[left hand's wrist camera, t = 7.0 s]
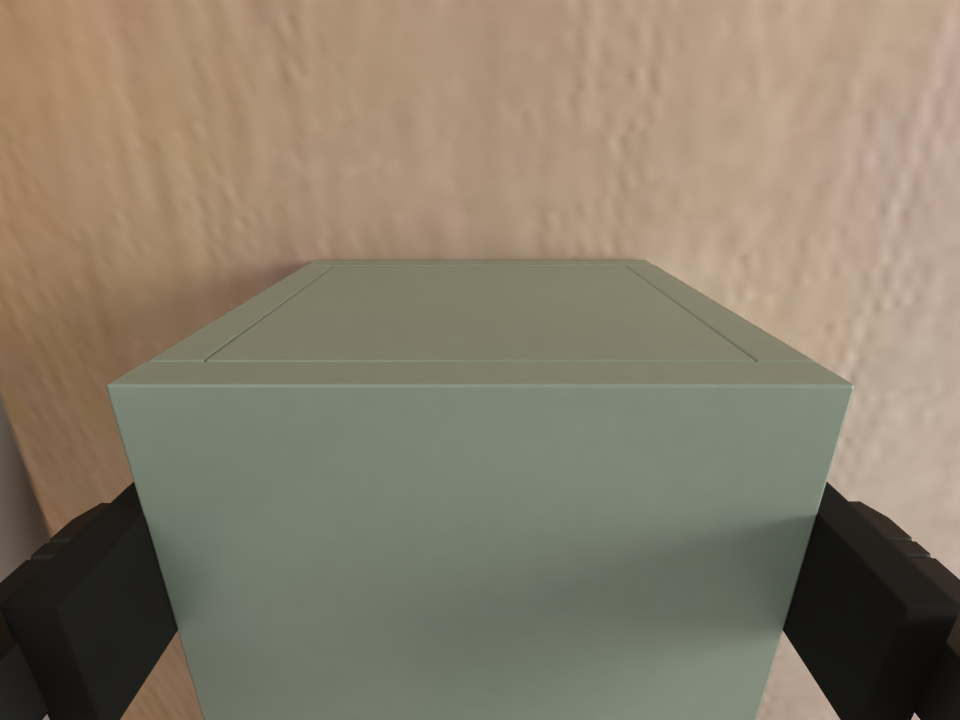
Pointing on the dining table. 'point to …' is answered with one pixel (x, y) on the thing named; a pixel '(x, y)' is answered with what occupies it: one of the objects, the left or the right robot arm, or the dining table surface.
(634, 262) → the sage green box
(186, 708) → the dining table surface
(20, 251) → the dining table surface
